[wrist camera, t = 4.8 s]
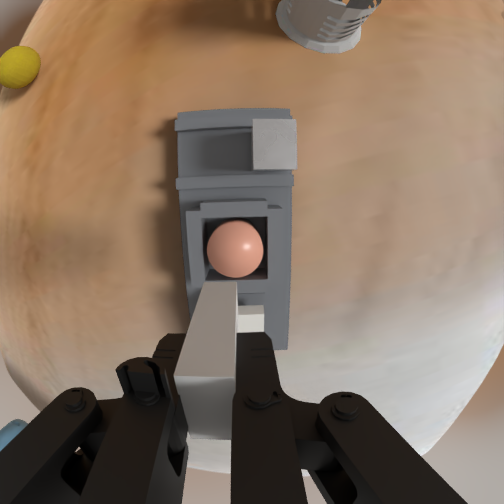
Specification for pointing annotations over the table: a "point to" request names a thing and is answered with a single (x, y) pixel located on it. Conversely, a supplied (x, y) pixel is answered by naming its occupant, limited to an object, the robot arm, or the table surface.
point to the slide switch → (273, 145)
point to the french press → (324, 22)
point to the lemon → (19, 67)
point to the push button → (235, 248)
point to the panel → (235, 209)
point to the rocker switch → (251, 318)
